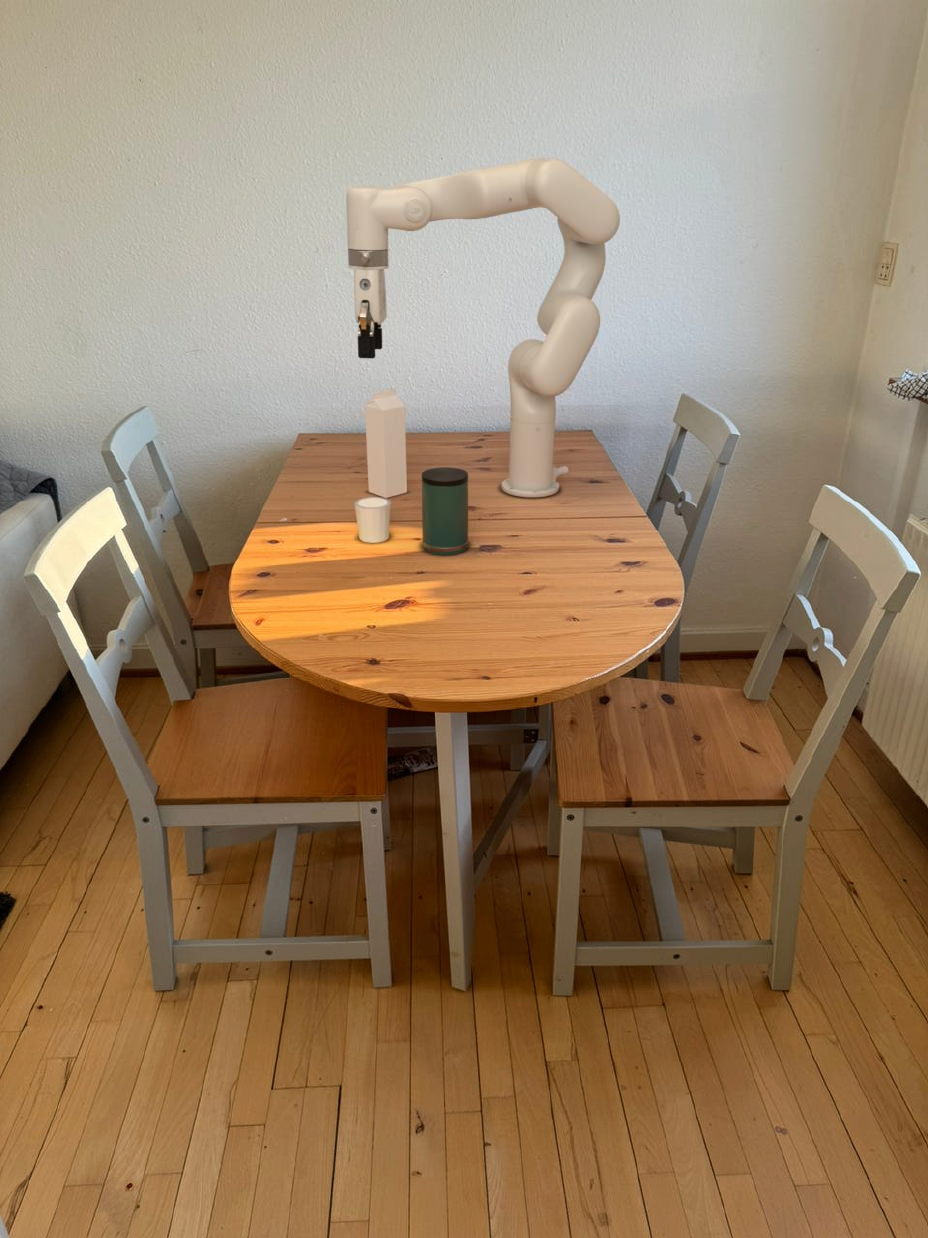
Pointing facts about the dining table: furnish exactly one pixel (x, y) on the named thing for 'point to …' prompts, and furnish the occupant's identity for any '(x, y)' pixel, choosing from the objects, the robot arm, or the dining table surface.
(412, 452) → the dining table surface
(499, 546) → the dining table surface
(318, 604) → the dining table surface
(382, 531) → the shot glass
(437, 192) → the robot arm
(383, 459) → the milk
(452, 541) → the green can
